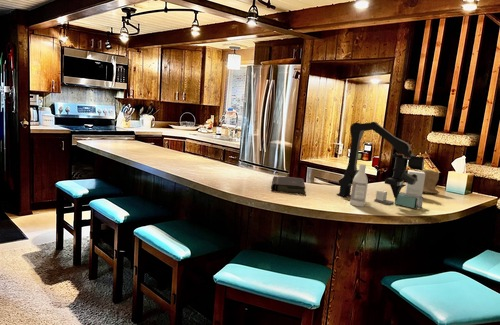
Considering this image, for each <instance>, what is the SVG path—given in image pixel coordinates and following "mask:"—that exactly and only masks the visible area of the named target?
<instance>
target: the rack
mask: <svg viewBox="0 0 500 325" xmlns="http://www.w3.org/2000/svg"><path fill="white" fill-rule="evenodd" d="M399 195H404V196H408V197H413V198H416V204H415V208H414V209H415V210H419V209H421V208H422V207H423V200H424V196H422V197H421V196H417V195H412V194H408V193H405V192H401V191H400V192H399ZM409 208H410V209H411V207H409Z"/></svg>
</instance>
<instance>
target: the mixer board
mask: <svg viewBox="0 0 500 325" xmlns="http://www.w3.org/2000/svg"><path fill="white" fill-rule="evenodd" d="M373 202H376V203H380V204H383V205H388V206H391V205H393V204H394V203H395V201H392V200H389V199H386V200H384V201H381V200H377V199H376V198H375V199H374V201H373Z"/></svg>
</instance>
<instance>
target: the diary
mask: <svg viewBox="0 0 500 325" xmlns="http://www.w3.org/2000/svg"><path fill="white" fill-rule="evenodd" d="M270 188H271V190H270V191H272V192H273V191H275V192H282V193H288V194H296V195H305V190H306V184H305V180H304V178H300V177H291V176H276V175H274V176H273V177H272V180H271V186H270Z"/></svg>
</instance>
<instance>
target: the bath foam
mask: <svg viewBox="0 0 500 325" xmlns="http://www.w3.org/2000/svg"><path fill="white" fill-rule="evenodd" d="M358 166H359V167H358V170H359V172H358V173H357V174H356V175H355V177H354V179H353V184H351V192H350V195H351V197H350V201H349V204H350V205H352V206H354V207H361V208H362V207H365V204H366V199H367V192H368V184H369V181H368V180H369V179H368V176H367V174H366V167H367V166H366V164H361V163H360V164H359V165H358Z"/></svg>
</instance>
